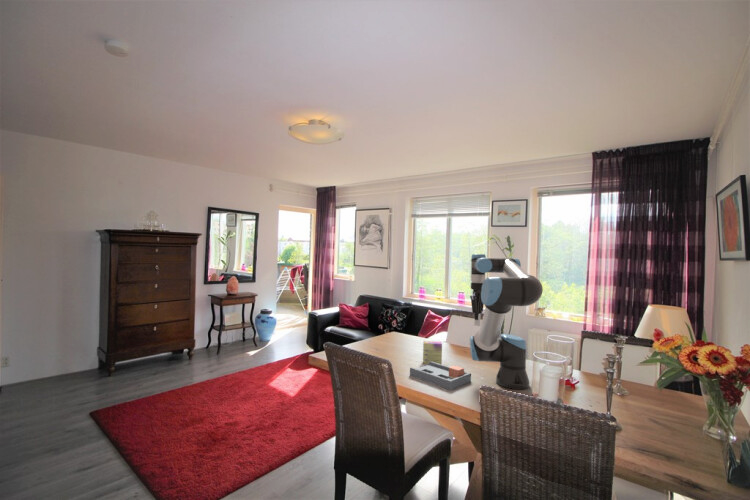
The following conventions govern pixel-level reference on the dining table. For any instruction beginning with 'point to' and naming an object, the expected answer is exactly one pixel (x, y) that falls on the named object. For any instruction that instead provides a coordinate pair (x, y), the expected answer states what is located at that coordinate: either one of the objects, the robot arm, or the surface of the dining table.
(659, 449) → the dining table surface
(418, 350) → the dining table surface
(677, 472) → the dining table surface
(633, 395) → the dining table surface
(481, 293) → the robot arm
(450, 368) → the block
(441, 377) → the box
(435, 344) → the box
